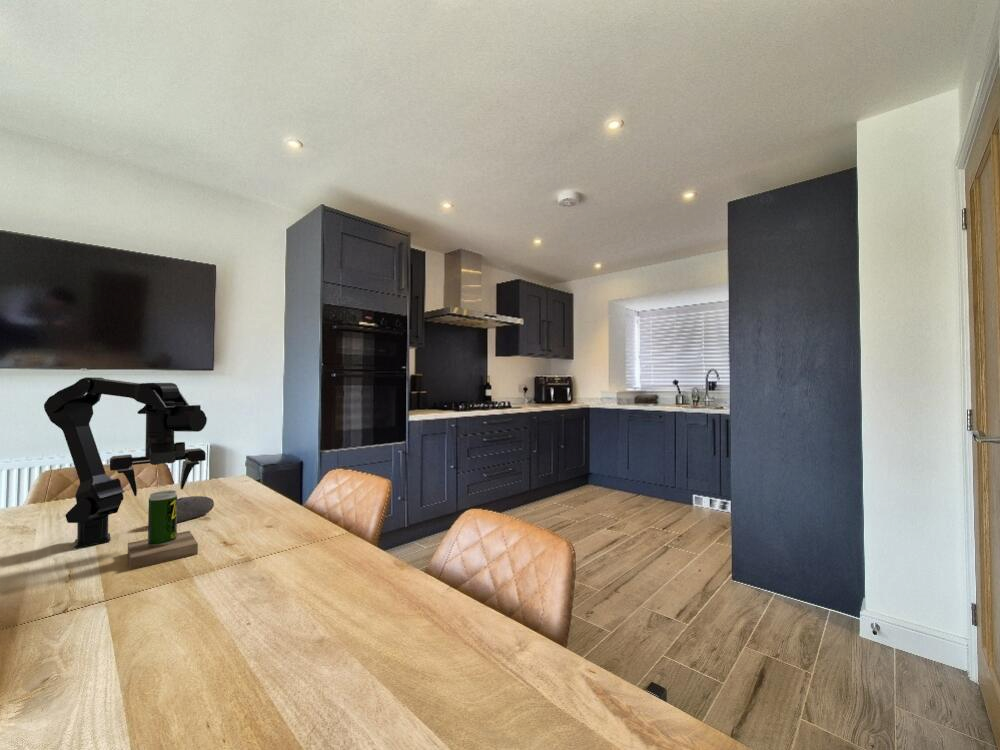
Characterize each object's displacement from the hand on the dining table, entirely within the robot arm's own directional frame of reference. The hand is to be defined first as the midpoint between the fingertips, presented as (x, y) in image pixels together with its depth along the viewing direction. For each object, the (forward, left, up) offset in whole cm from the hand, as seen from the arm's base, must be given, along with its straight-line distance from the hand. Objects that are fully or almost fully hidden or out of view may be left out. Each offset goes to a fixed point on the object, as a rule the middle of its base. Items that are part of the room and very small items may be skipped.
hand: (159, 492), depth 107 cm
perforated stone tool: (-18, +8, -13) cm, 24 cm away
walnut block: (+9, 0, -13) cm, 16 cm away
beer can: (+9, 0, -11) cm, 14 cm away
